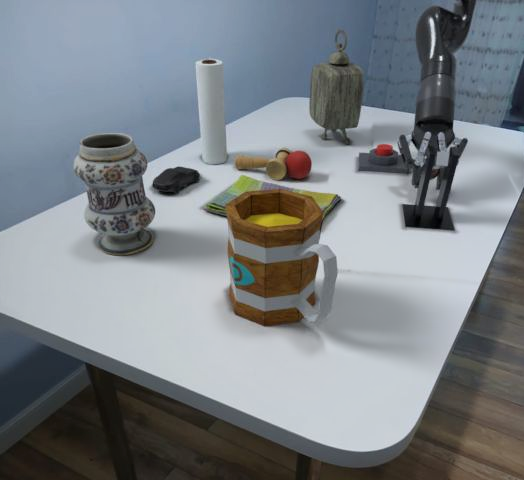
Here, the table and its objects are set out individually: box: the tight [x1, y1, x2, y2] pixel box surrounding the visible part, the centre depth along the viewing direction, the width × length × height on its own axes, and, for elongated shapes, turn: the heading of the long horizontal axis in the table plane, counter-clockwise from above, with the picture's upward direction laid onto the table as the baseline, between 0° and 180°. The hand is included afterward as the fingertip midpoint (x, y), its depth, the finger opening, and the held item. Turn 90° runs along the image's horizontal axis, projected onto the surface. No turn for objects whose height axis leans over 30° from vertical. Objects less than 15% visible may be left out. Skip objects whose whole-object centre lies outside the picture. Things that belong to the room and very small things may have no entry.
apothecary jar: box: [73, 132, 156, 256], centre depth 84 cm, size 12×12×18 cm
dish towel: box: [202, 174, 342, 222], centre depth 100 cm, size 18×24×3 cm
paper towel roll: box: [194, 57, 228, 165], centre depth 114 cm, size 7×6×21 cm
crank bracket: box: [401, 145, 460, 232], centre depth 92 cm, size 10×9×14 cm
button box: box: [357, 147, 409, 175], centre depth 116 cm, size 11×9×4 cm
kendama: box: [234, 147, 313, 181], centre depth 113 cm, size 8×6×18 cm
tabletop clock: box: [308, 28, 365, 145], centre depth 125 cm, size 14×9×25 cm, turn 14°
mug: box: [225, 188, 339, 327], centre depth 70 cm, size 20×14×15 cm
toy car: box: [151, 165, 201, 194], centre depth 108 cm, size 6×12×4 cm, turn 149°
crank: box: [421, 151, 450, 181], centre depth 94 cm, size 13×4×4 cm
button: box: [376, 143, 394, 156], centre depth 114 cm, size 4×4×2 cm
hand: (428, 187), depth 98 cm, fingers closed on crank, 3 cm apart
